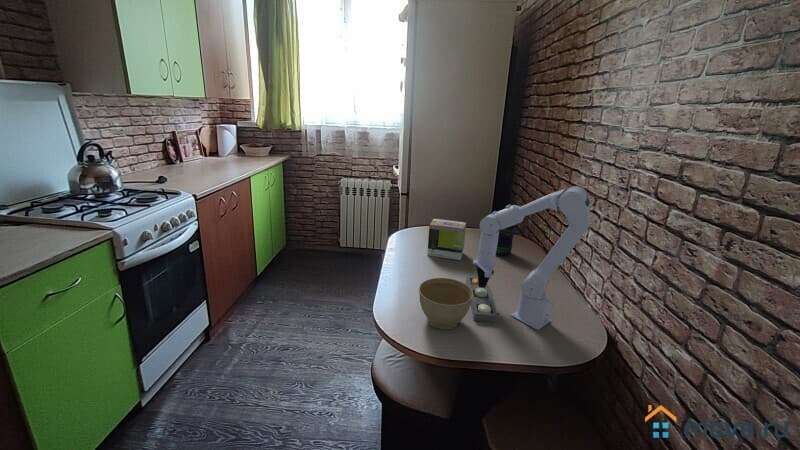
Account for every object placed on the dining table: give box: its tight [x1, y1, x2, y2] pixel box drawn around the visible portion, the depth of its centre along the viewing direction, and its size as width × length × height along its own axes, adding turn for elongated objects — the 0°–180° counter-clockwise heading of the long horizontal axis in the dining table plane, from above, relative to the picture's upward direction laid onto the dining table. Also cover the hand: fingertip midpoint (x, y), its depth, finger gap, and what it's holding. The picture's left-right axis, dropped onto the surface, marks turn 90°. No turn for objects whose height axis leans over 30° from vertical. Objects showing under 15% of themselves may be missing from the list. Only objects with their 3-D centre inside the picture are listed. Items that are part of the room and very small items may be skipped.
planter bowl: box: [418, 277, 473, 330], centre depth 110 cm, size 16×16×11 cm
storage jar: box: [495, 224, 517, 258], centre depth 164 cm, size 10×10×15 cm
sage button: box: [475, 288, 487, 298], centre depth 124 cm, size 4×4×2 cm
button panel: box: [465, 276, 499, 323], centre depth 124 cm, size 25×7×2 cm, turn 176°
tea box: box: [426, 218, 467, 261], centre depth 158 cm, size 15×10×15 cm, turn 74°
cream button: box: [478, 304, 491, 313], centre depth 115 cm, size 4×4×2 cm
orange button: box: [472, 278, 478, 285], centre depth 132 cm, size 4×4×2 cm
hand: (481, 286), depth 123 cm, fingers closed
